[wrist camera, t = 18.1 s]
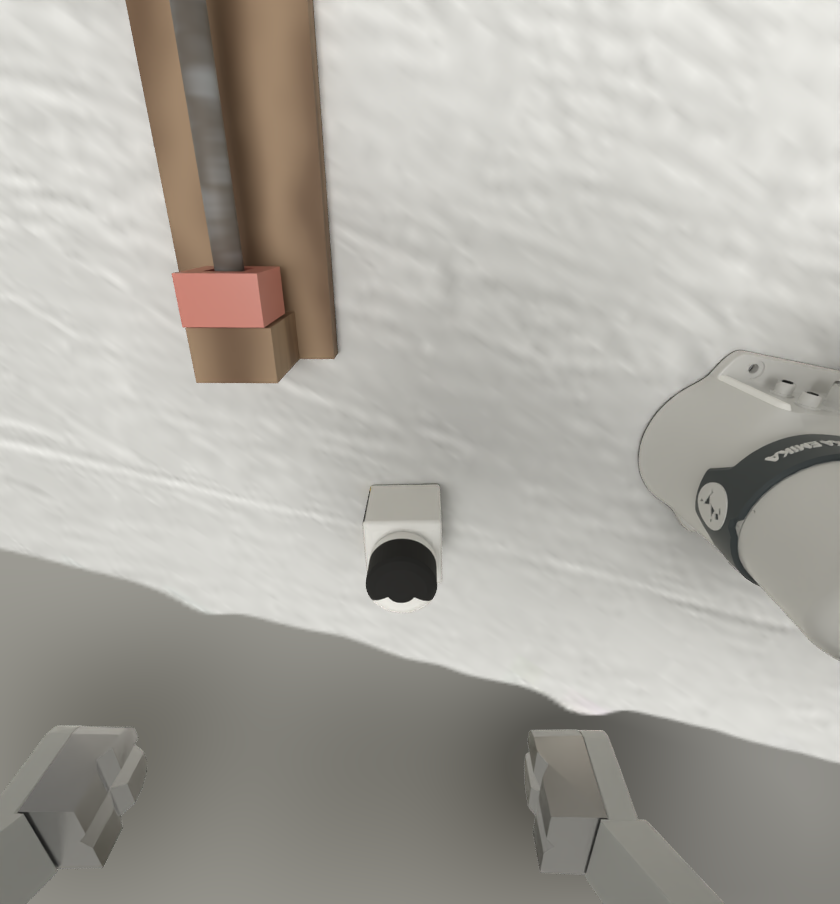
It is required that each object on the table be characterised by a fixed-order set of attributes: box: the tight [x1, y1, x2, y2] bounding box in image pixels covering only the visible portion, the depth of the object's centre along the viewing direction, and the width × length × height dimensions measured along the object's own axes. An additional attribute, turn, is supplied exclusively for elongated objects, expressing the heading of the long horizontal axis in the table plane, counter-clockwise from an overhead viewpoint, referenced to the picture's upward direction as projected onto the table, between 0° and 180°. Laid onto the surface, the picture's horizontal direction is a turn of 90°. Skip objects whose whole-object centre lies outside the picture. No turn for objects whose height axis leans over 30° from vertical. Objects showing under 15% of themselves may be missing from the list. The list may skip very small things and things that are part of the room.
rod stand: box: [126, 0, 338, 383], centre depth 34 cm, size 12×30×9 cm, turn 0°
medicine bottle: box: [363, 484, 442, 613], centre depth 46 cm, size 7×7×12 cm
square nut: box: [172, 266, 285, 328], centre depth 35 cm, size 6×4×6 cm, turn 90°
